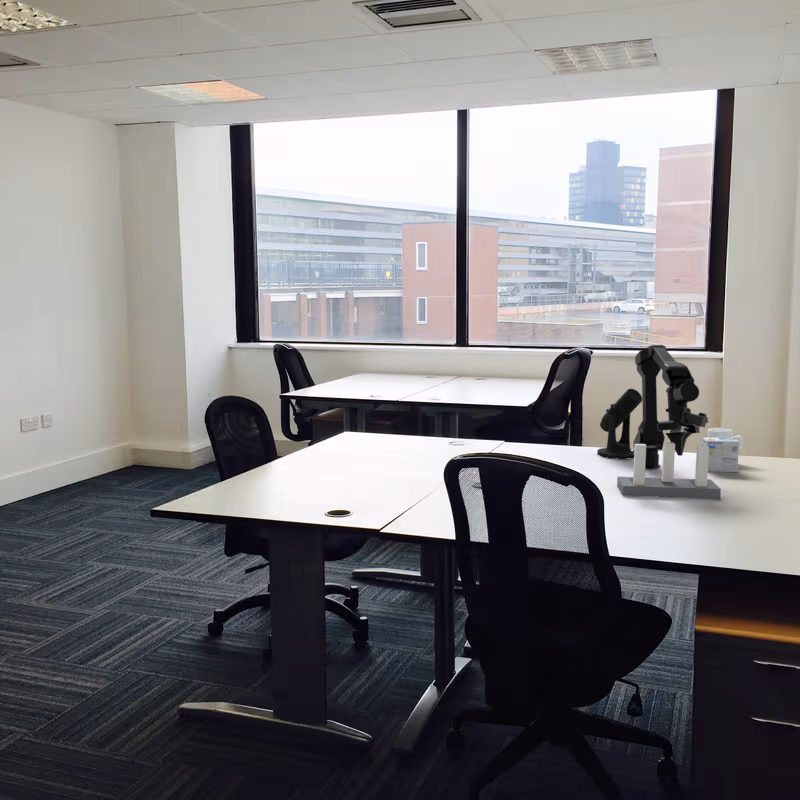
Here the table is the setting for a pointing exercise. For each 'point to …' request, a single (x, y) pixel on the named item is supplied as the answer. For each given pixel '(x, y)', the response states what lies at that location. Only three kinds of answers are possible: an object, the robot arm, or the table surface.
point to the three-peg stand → (677, 488)
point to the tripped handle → (668, 462)
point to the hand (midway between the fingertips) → (680, 455)
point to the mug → (722, 434)
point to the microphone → (613, 420)
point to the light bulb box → (722, 454)
